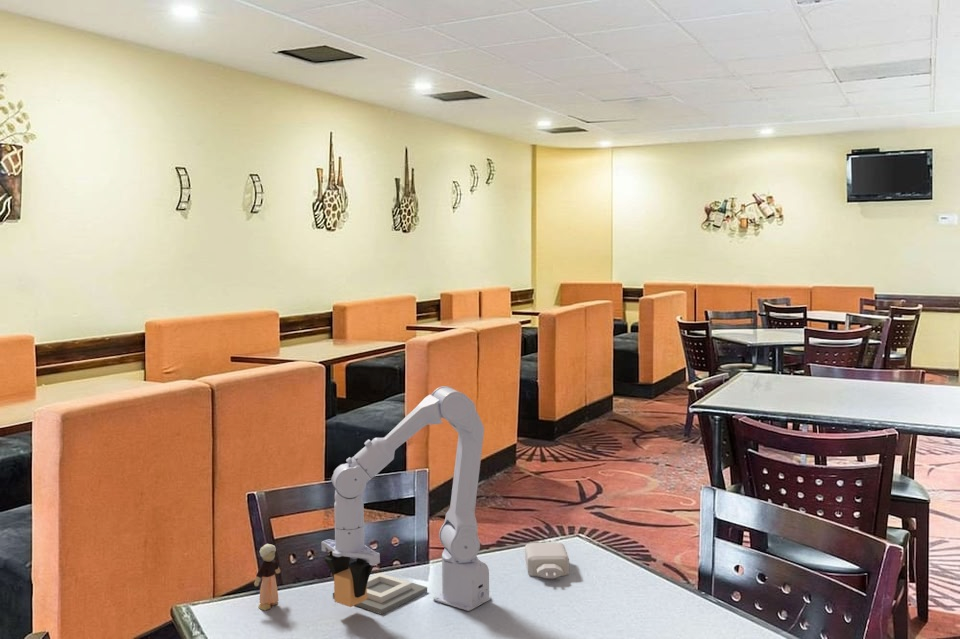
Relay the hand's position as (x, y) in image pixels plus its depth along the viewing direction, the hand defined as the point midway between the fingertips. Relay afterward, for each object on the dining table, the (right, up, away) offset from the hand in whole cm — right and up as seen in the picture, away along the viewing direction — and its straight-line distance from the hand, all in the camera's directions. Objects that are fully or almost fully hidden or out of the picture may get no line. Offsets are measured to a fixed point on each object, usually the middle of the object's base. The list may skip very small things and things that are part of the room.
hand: (350, 592), depth 159 cm
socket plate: (+5, -4, +10) cm, 11 cm away
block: (0, -2, 0) cm, 2 cm away
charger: (+41, -3, +21) cm, 46 cm away
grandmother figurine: (-18, -4, +5) cm, 19 cm away
